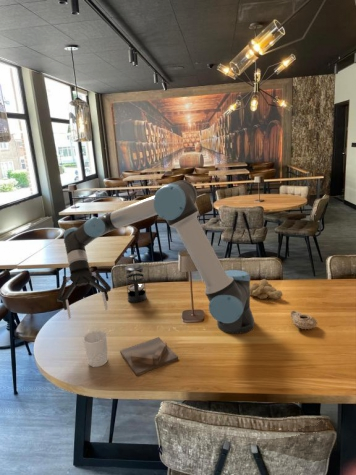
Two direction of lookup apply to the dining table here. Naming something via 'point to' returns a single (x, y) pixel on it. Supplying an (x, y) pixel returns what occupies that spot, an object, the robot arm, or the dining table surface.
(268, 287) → the ginger root
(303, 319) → the pottery oil lamp
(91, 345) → the white cup
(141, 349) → the brown flat square slab
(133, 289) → the french press
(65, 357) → the dining table surface
